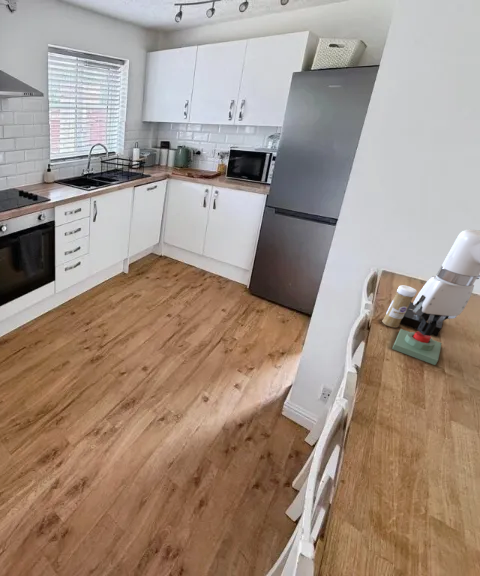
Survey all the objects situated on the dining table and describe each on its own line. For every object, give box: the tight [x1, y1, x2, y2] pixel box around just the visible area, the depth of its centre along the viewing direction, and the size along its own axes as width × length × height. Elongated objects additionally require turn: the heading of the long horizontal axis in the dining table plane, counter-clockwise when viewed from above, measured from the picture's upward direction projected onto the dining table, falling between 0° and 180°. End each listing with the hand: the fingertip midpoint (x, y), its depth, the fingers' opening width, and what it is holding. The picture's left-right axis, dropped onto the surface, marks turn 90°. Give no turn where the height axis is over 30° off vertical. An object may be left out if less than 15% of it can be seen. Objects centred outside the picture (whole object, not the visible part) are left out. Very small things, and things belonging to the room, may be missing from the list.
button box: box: [392, 328, 442, 366], centre depth 108 cm, size 12×10×4 cm
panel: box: [399, 301, 444, 337], centre depth 122 cm, size 14×10×3 cm
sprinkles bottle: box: [381, 284, 418, 328], centre depth 117 cm, size 5×5×14 cm
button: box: [413, 330, 432, 343], centre depth 107 cm, size 4×4×2 cm
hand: (423, 332), depth 107 cm, fingers closed
